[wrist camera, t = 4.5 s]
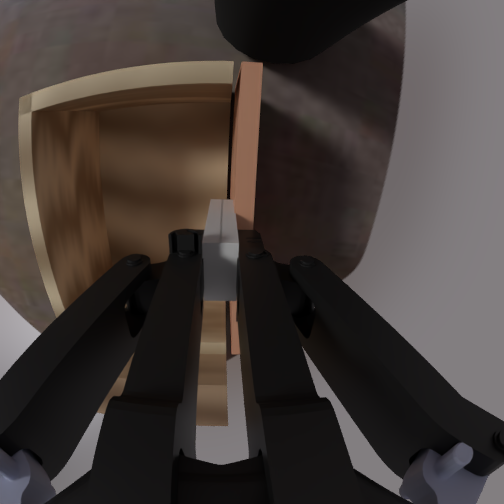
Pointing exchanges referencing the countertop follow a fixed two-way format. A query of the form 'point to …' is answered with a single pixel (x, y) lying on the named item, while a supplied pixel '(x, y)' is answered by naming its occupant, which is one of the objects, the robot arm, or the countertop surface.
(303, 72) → the countertop surface
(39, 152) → the box
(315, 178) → the countertop surface
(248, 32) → the coffee jar
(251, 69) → the panel
